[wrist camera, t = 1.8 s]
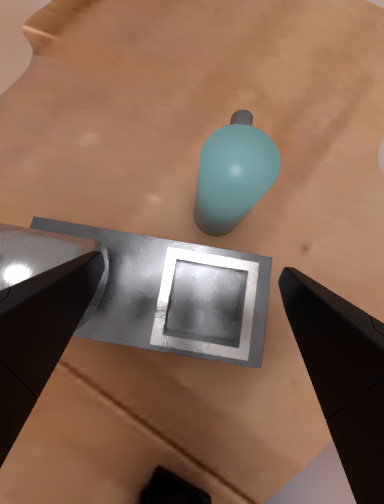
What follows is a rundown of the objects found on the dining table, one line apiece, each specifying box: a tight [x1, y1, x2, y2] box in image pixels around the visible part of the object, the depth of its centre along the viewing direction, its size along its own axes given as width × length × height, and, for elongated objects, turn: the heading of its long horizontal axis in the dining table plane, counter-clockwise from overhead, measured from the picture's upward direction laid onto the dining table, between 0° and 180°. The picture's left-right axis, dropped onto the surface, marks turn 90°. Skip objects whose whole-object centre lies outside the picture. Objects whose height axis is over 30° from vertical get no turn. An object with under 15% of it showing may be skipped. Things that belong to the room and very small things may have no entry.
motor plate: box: [0, 217, 272, 368], centre depth 17 cm, size 28×12×11 cm, turn 80°
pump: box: [194, 110, 281, 236], centre depth 19 cm, size 8×6×11 cm
